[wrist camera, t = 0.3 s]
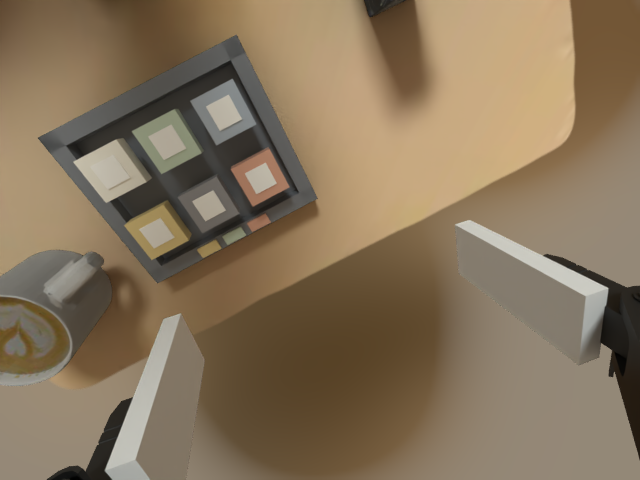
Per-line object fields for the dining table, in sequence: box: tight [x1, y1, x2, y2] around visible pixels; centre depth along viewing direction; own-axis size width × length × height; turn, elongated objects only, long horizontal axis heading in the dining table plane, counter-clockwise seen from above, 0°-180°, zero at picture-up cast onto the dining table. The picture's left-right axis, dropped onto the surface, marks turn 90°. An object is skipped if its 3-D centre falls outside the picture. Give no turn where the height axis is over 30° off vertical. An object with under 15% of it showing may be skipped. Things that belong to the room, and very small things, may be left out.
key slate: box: [190, 79, 256, 145], centre depth 32 cm, size 4×4×2 cm
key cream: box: [74, 138, 152, 203], centre depth 32 cm, size 4×4×2 cm
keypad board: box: [38, 35, 318, 283], centre depth 36 cm, size 18×21×3 cm
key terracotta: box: [231, 147, 289, 206], centre depth 35 cm, size 4×4×2 cm
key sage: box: [132, 109, 204, 174], centre depth 32 cm, size 4×4×2 cm
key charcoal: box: [178, 174, 240, 233], centre depth 35 cm, size 4×4×2 cm
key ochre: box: [124, 200, 192, 260], centre depth 35 cm, size 4×4×2 cm
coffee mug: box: [0, 250, 112, 386], centre depth 34 cm, size 13×10×10 cm
